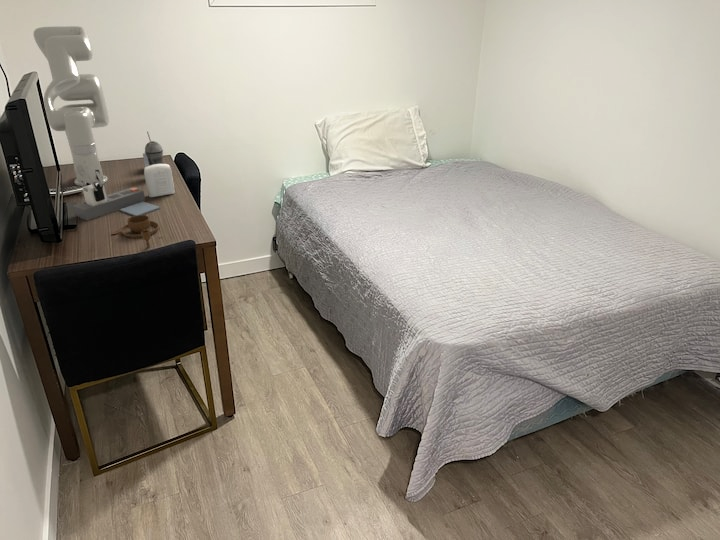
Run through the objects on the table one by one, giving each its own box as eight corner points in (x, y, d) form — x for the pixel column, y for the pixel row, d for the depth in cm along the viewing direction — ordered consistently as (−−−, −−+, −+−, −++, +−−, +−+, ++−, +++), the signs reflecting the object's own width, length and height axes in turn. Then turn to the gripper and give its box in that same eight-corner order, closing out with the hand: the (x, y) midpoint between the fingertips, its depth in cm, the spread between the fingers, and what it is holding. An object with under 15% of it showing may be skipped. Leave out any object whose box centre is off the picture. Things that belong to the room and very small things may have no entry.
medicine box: (155, 172, 230) (152, 153, 226) (146, 172, 230) (142, 153, 226) (162, 167, 237) (158, 148, 233) (152, 166, 237) (149, 148, 233)
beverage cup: (170, 177, 224) (162, 131, 215) (154, 181, 220) (146, 134, 210) (162, 173, 229) (154, 128, 219) (146, 177, 224) (137, 131, 214)
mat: (120, 211, 190) (119, 209, 189) (143, 203, 197) (143, 201, 197) (136, 217, 185) (136, 215, 185) (160, 208, 192) (160, 207, 192)
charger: (86, 208, 186) (81, 187, 182) (101, 203, 191) (96, 182, 187) (93, 211, 184) (88, 189, 180) (108, 206, 188) (103, 185, 185)
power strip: (75, 216, 185) (72, 204, 183) (134, 197, 203) (131, 186, 200) (86, 220, 182) (83, 208, 179) (145, 200, 199) (143, 189, 197)
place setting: (172, 225, 180) (170, 209, 177) (153, 250, 162) (150, 233, 160) (122, 225, 180) (118, 209, 177) (97, 250, 162) (93, 233, 159)
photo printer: (173, 190, 209) (168, 161, 204) (176, 193, 206) (171, 163, 200) (147, 195, 204) (141, 165, 198) (149, 198, 201) (143, 167, 195)
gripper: (59, 147, 179) (72, 197, 187) (87, 155, 170) (100, 207, 179) (80, 142, 184) (92, 191, 193) (108, 150, 176) (119, 200, 185)
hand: (96, 198), depth 186 cm, fingers open, 4 cm apart
